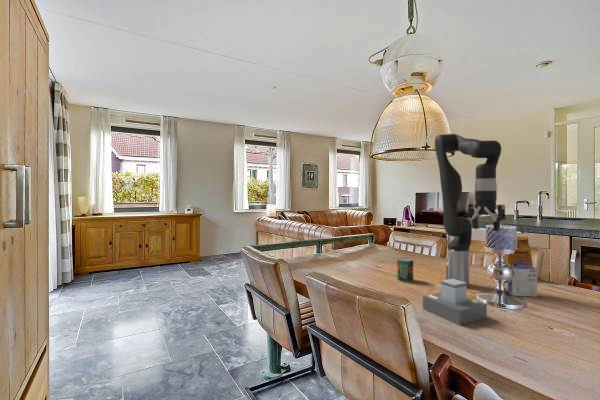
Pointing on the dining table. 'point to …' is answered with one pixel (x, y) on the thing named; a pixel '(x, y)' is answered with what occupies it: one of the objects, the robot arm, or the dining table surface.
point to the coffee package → (520, 253)
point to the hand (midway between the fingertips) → (485, 229)
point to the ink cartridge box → (523, 280)
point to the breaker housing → (455, 309)
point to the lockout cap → (454, 291)
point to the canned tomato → (405, 269)
